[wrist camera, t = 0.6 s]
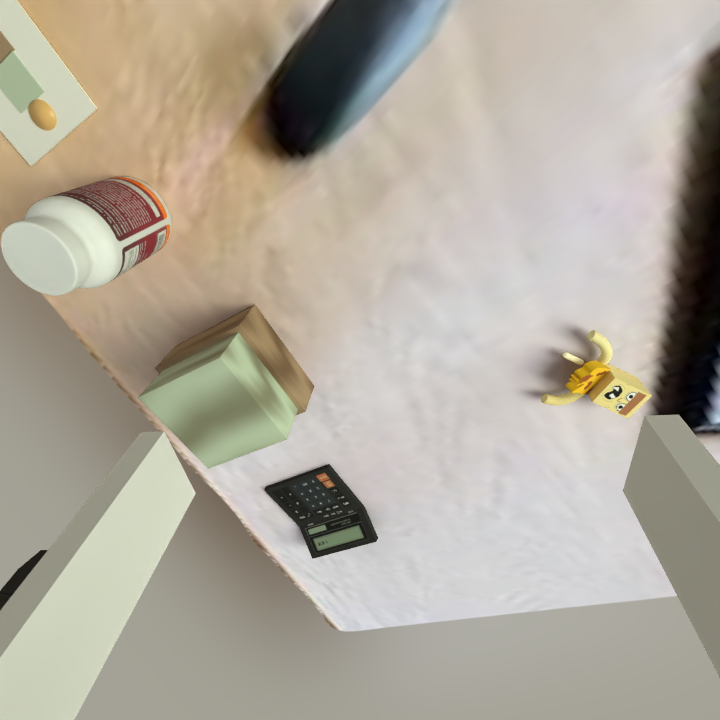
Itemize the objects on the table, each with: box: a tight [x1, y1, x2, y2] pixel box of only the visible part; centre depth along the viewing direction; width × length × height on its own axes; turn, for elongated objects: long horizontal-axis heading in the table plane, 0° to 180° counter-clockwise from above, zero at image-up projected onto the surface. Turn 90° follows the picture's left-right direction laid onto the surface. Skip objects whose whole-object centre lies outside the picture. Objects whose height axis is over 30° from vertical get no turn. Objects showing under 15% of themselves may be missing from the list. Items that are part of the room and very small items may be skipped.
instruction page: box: [0, 0, 98, 166], centre depth 30 cm, size 10×8×1 cm
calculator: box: [265, 464, 378, 559], centre depth 51 cm, size 9×12×3 cm
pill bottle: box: [1, 176, 172, 295], centre depth 30 cm, size 6×6×11 cm
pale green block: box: [138, 305, 314, 468], centre depth 38 cm, size 10×10×8 cm
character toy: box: [541, 330, 652, 419], centre depth 37 cm, size 8×3×8 cm
